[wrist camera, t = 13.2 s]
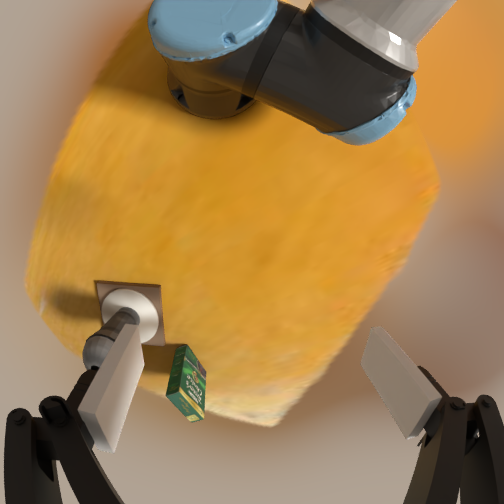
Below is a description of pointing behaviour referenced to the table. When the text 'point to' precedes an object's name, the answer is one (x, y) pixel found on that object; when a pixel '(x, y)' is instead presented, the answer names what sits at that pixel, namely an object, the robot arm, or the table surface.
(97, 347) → the beverage cup
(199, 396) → the coffee box
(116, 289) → the mount
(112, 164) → the table surface
